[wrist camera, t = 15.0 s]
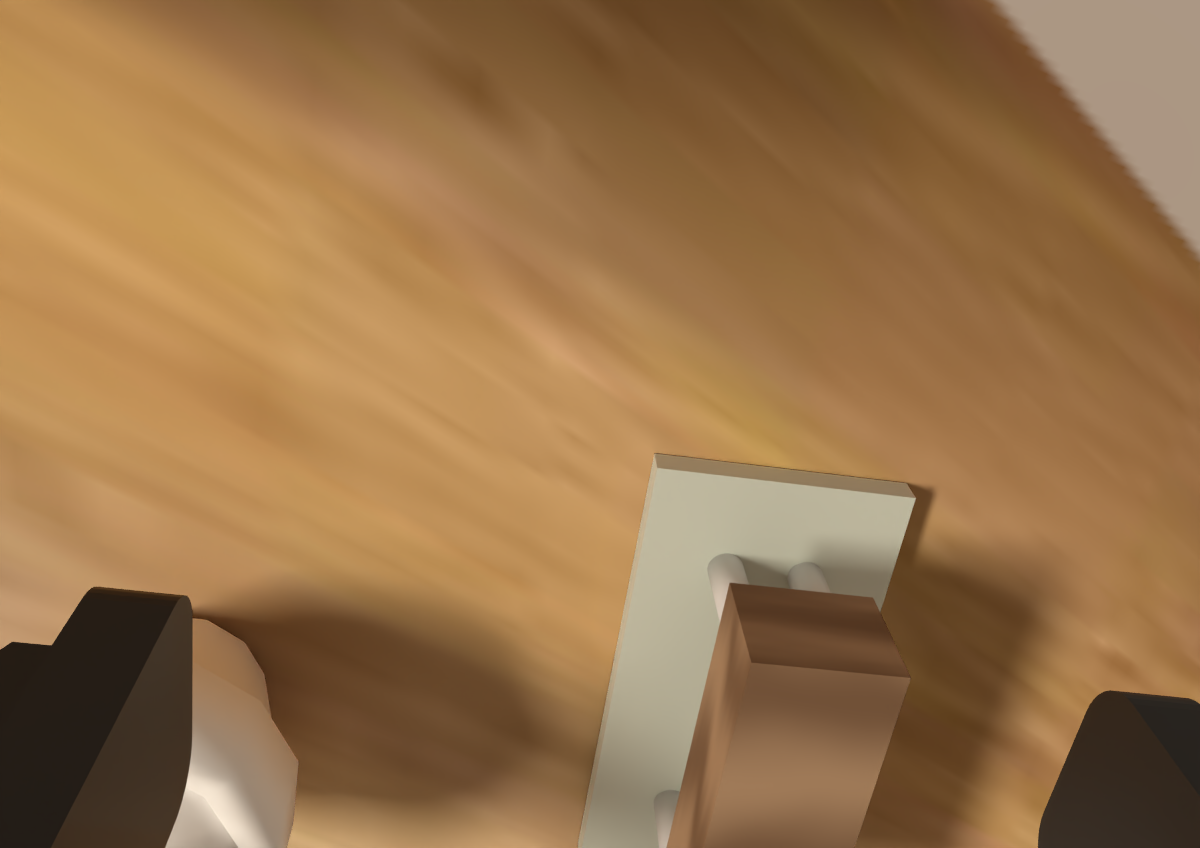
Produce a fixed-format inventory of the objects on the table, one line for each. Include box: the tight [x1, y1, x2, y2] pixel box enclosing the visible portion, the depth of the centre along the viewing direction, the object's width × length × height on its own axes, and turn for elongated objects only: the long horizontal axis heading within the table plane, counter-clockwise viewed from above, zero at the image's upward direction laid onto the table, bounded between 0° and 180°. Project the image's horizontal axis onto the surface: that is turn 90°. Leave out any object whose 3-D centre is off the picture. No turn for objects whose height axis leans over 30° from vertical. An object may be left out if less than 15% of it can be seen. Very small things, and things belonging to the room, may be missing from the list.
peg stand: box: [578, 453, 916, 848], centre depth 45 cm, size 10×20×5 cm, turn 171°
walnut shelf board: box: [666, 583, 911, 848], centre depth 41 cm, size 16×5×4 cm, turn 171°
